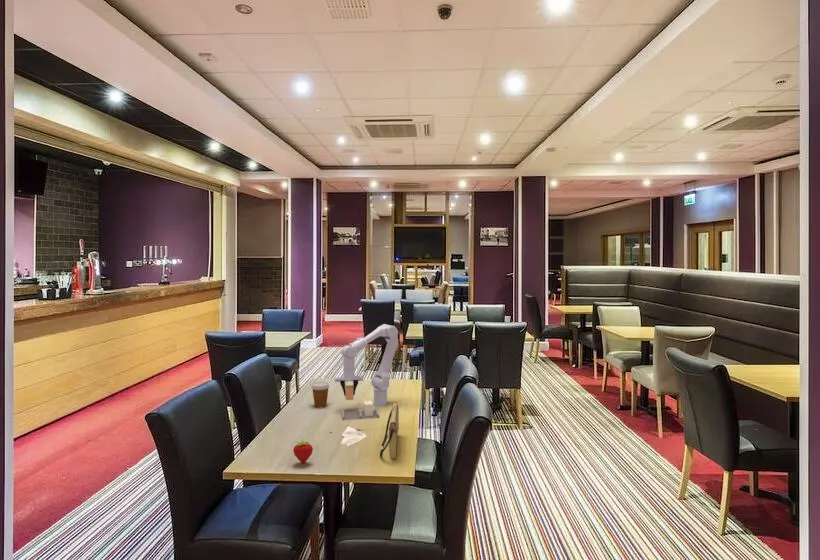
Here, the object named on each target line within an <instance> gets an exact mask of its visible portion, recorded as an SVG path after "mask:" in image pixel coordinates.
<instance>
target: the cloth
mask: <svg viewBox="0 0 820 560" xmlns="http://www.w3.org/2000/svg"><path fill="white" fill-rule="evenodd" d="M362 432H363V431H362V430H360V429H355V428H353V427H350V426H347V427H346V429H345V430H344V431H343V432H342V434H341V435H342V437H343V438H342V439H341V442H340V445H344V444H346V445H347V447H346V448H348V447H350V445H351V446H352V445H354V443H355V444H357V443H358V441H359V442H360V440H361V441H363V438H364V439H365V437H366V438H367V437H368V436H367V435H366V433H364V432H363V433H362ZM356 442H357V443H356Z"/></svg>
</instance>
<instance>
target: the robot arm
mask: <svg viewBox="0 0 820 560" xmlns="http://www.w3.org/2000/svg"><path fill="white" fill-rule="evenodd" d="M398 335H399V330H398V329H397V327H396V326H395V325H390V324H386V323H383V324H381V325H379V326H378V327H377V328H376V329H374V330H373V331H372V332H370V333H369V334H367V335H366V336H364V337H357V338H356V340H354V341H353V342H349V344H348V345H345V346H343V348H342V349H341V351H340V352H341V355H342V358H343V361H342V363H343V366H342V367H343V369H342V370H343V376H339V377H334V383H338V382H340V383H339V384H340V386H341V389H342V392H343V396H344V397H345V396H346V395H345V385H346V382H352V383H353V384H352V385H353V396H355V394H356V390H357V386H358V385H359V382H360V381H361V382H363V381H364V376H362V375H360V376H358V375H357V376H356V375H355V374H356V373H355V372H356V371H355V365H356V364H355V357H356V356H357V354H358V353H359V352H361V351H363V349H365V348H366V347H367V345H368V344H369V343H371V342H372V341H374V340H375V339H378V338H379V337H383V338H384V340H385V342H386V343H387V344H386V346H385V348H384V353H383V356H382V360H381V362H380V365H379V368H378V371H376V372H375V374H374V376H373V377H372V379H371V382H370V384H371V386H373V406H376V407H385V406H387V405H388V389H389V387H390V374H389V373H390V370H391V365H392V362H393V359H394V357H395V354H396V350H397V347H398V344H399V338H398Z"/></svg>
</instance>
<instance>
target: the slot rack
mask: <svg viewBox="0 0 820 560" xmlns="http://www.w3.org/2000/svg"><path fill="white" fill-rule="evenodd" d="M357 409H358V410H357V411H345V409H343V408H342V409H341V420H342V421H350V420H351V421H352V420H365V419H366V420H367V419H369V420H370V419H380V413H379V411H378V406H376V407H374V409H373V416H368V417H365V414H364V410H361V408H357Z"/></svg>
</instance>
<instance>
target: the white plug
mask: <svg viewBox="0 0 820 560" xmlns="http://www.w3.org/2000/svg"><path fill="white" fill-rule="evenodd" d="M373 410H374V402H373V401H372V400H364V401H363V411H364V414H365V417H368V416H373Z"/></svg>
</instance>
